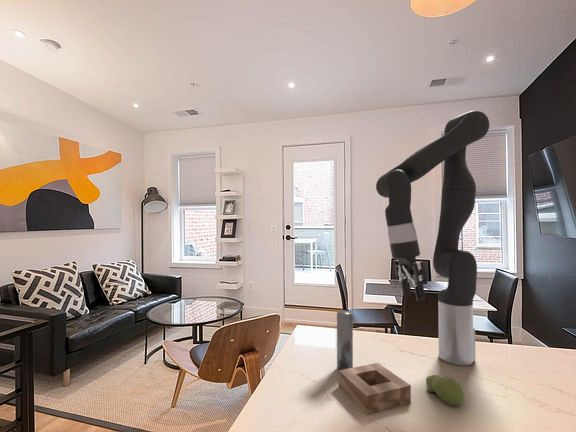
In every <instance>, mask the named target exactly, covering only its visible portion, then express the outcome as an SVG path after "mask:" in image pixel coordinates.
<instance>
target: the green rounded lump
mask: <svg viewBox="0 0 576 432" xmlns="http://www.w3.org/2000/svg"><path fill="white" fill-rule="evenodd" d="M425 383H426V389H427V391H428V392H429V393H435V394H436V396H438V398H440V399H441V400H442V401H443V402H444V403H445V404H447V405H449V406H453V407H454V406H459V405H461V404H462V403H463V401H464V400H465V391H464V387H462V385H461V384H460V383H459V382H458V381H457V380H456V379H454V378H451V377H447V376H440V375H438V374H431V375H428V376H426V379H425Z"/></svg>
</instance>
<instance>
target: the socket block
mask: <svg viewBox="0 0 576 432" xmlns="http://www.w3.org/2000/svg"><path fill="white" fill-rule="evenodd" d="M338 388H339V389H341V390H342V391H343V393H345V394H346V395H347V396H348V397H349V398H350V399H351V401H353V402H354V404H356V406H358V407H359V408H360V409H361V411H363V412H364V413H365V415H370V414H373V413H378V412H381V411H385V410H389V409H393V408H396V407H401V406H403V405H408V404H411V402H412V398H411V397H412V385H411V384H410V383H408V382H407V381H405V380H404V379H403V378H401V377H399V376H398V375H396V373H393V371H391V370H389V369H388V368H387V367H385V366H383V365H382V364H381V363H379V362H374V363H370V364H365V365H360V366H355V367H354V366H353V368H349V369H343V370H339V371H338Z"/></svg>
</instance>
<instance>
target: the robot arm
mask: <svg viewBox="0 0 576 432" xmlns="http://www.w3.org/2000/svg"><path fill="white" fill-rule="evenodd" d="M489 130H490V120H489V118H488V116H487V115H486V113H484V112H483V111H480V110H470V111H468V112H465V113H462V114H460V115H457V116H455V117H452V118H451V119H450V120H448V122H446V124H445V127H444V131H443V135H442V136H441V137H439V138H437V139H435V140H434V141H432V142H430V143H428V144H427V145H425V146H422V147H421V148H420V149H418V150H416V151H415V152H414V153H413V154H411V155H410V156H409V157H407V158H406V159H405V160H403V161H402V162H401V163H400V164H398V165H397V166H395V167H393V168H391V169H390V170H388V171H387V172H386V173H384V174H383V175H381V176H380V177H379V178H378V179H377V181H376V183H375V184H376V185H375V188H376V189H375V190H376V192H377V194H379V196H381V197H383V198H386V199H388V205H387V206H386V207H385V210H384V213H385V221H386V226H387V236H388V242H389V247H390V251H391V252H390V253H391V258H392V259H394V260H393V264H394V271H395V277H396V280H397V281H399V283H400V285H401V289H402V290H401V291H402V295H403V296H404V297H408V296H412V289H411V284H410V282H409V281H411V283H412V284H413V286H414V287H413V288H414V292H415V299H416V301H418V302H422V301H426V293H425V289H424V288H425V285H428V278H427V275H426V270H425V266H424V262H423V261H422V260H421V261H417V258H416V257H419V256H420V255H421V252H420V251H421V250H420V245H419V240H418V237H417V236H418V235H417V230H416V228H415V225H414V221H413V220H414V219H413V215H412V210H411V203H412V183H413V182H416V181H417V180H420V179H421V178H423V177H424V176H425V175H427V174H428V173H429V172H430V171H432V170H433V169H434V168H435V167H437V166H439V165H440V164H441V163H443V162H444V163H443V164H444V165H443V178H442V179H443V180H442V182H443V183H442V189H441V197H440V198H441V199H440V213H439V214H440V215H439V221H438V222H439V223H438V230H437V236H436V240H435V241H436V242H435V247H434V250H433V251H434V252H433V256H432V266H433V269H434V272H435V273H436V275H438V276H440V277H442V278H446V279H448V280H447V282H448V283H447V286H446V287H447V288H445V289H441V290H439V292H438V306H437V307H438V308H437V309H438V358H440V360H442V361H443V362H446V363H448V364H451V365H454V366H455V365H457V366H464V367H465V366H471V365H473V363H474V362H475V361H476V329H475V327H474V298H475V295H476V291H477V281H478V280H477V278H478V265H477V260H476V258H475V256H474V254H472V253H471V252H469V251H468V250H464V249H463V250H462V249H459V241H460V235H461V232H462V230H463V228H464V226H465V225H466V223H467V222H468V220H469V219H470V216H471V215H472V213H473V211H474V208H475V204H476V196H477V195H476V194H477V193H476V192H477V186H476V181H475V179H474V177H473V175H472V173H471V171H470V170H469V168H468V166H467V161H466V156H467V155H466V154H467V152H466V151H467V146H469V145H472V144H473V143H474V142H479V141H480V140H481V139H483V138H484V137H485V136H486V135H487V133H488V132H489Z"/></svg>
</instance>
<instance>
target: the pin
mask: <svg viewBox="0 0 576 432" xmlns="http://www.w3.org/2000/svg"><path fill="white" fill-rule="evenodd" d="M353 313H354V312H353V311H350V310H338V311H337V312H336V371H337V372H339V370H343V369H349V368H354V366H353V365H354V359H353V357H354V356H353V355H354V348H353V347H354V334H353V332H354V325H353V323H354V322H353V321H354V320H353V319H354V314H353Z"/></svg>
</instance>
